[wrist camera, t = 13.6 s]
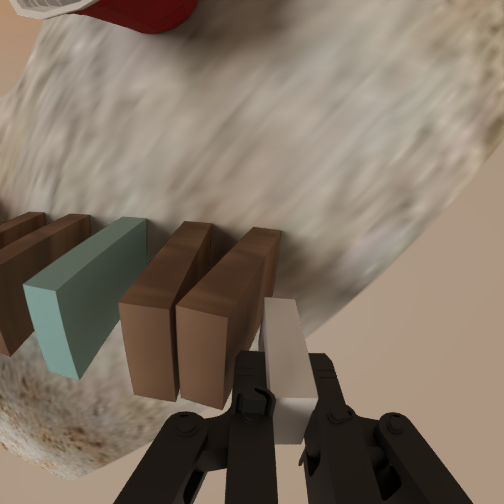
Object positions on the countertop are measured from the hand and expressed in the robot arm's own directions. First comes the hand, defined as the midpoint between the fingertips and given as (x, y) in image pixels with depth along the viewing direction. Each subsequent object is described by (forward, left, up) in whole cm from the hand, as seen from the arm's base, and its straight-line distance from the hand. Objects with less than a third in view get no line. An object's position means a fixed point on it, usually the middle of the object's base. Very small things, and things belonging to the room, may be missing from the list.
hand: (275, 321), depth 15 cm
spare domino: (-10, +4, -8) cm, 13 cm away
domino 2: (-14, +5, -8) cm, 17 cm away
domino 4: (-5, +2, -8) cm, 10 cm away
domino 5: (0, 0, -8) cm, 8 cm away
